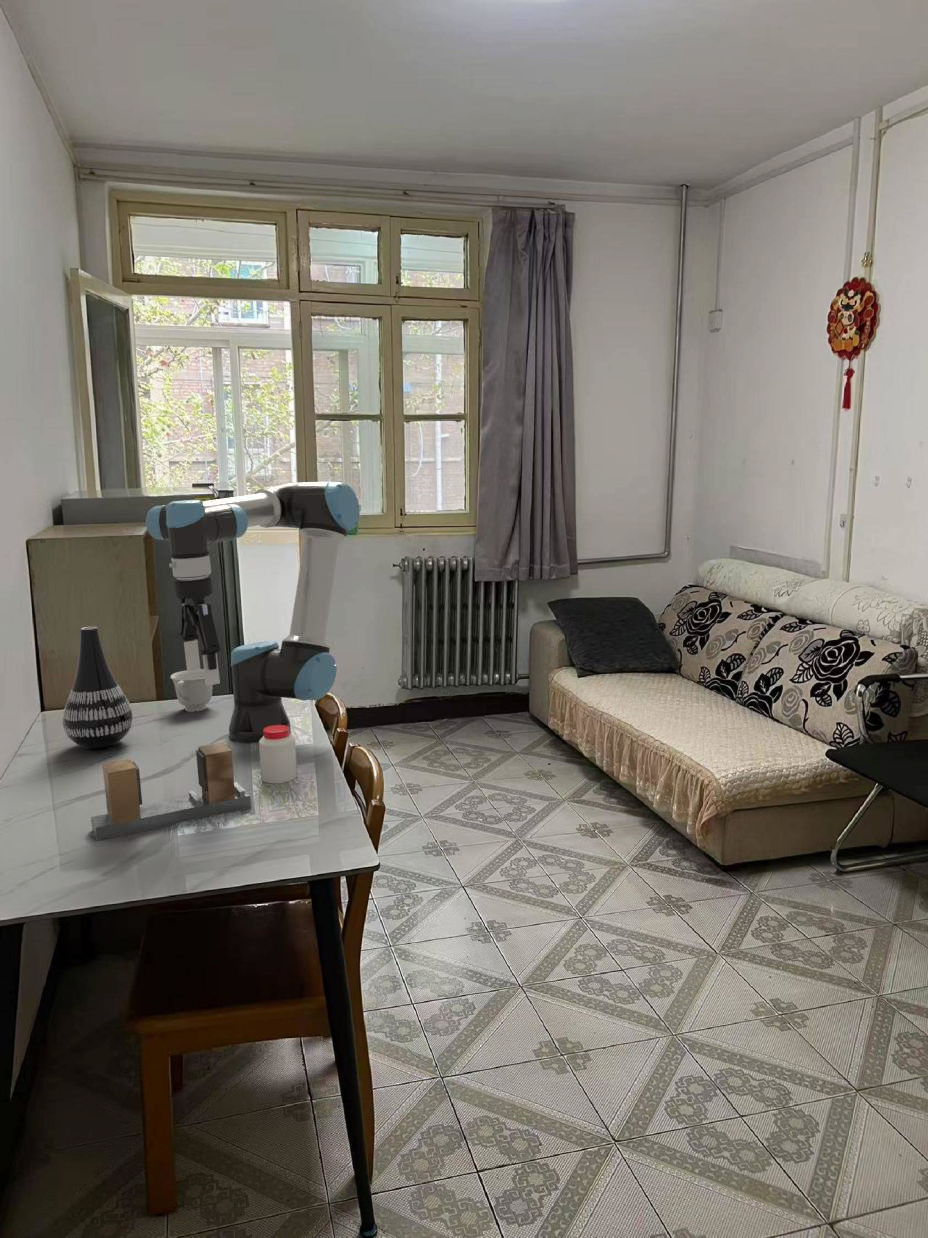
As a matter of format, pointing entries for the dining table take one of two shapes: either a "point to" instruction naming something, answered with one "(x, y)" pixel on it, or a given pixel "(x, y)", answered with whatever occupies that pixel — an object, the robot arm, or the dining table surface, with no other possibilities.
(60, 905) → the dining table surface
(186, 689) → the teacup
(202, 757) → the brown wooden block
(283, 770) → the pill bottle
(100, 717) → the vase
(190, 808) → the rail
